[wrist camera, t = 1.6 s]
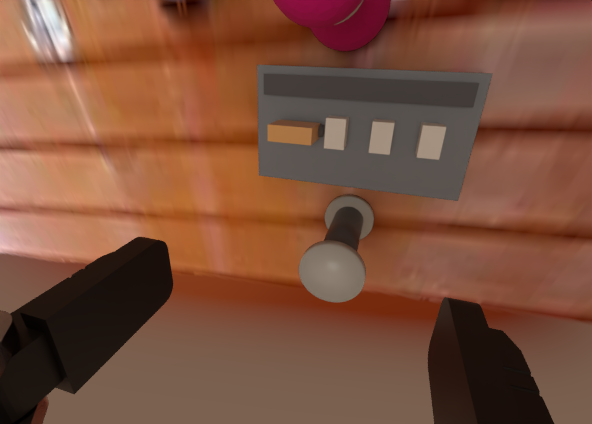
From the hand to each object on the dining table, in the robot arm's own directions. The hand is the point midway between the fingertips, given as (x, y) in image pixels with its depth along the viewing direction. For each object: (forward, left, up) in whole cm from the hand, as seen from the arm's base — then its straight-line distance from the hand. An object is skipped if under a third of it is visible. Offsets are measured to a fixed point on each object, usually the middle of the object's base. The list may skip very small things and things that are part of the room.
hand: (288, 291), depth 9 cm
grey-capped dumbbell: (+1, +11, -30) cm, 31 cm away
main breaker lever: (+7, 0, -27) cm, 27 cm away
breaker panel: (+1, 0, -30) cm, 30 cm away
